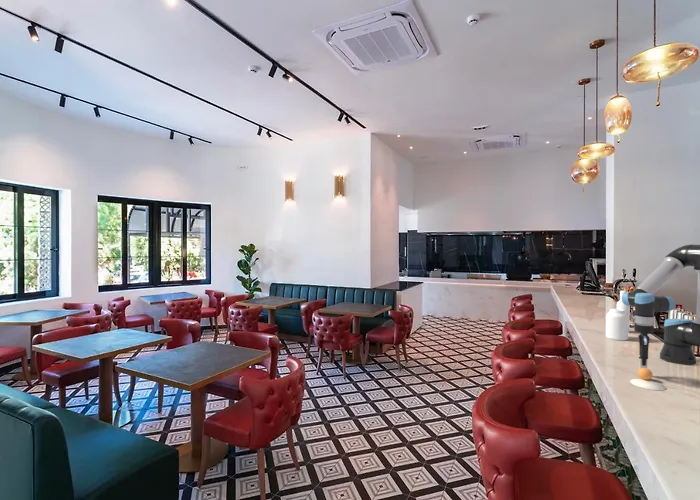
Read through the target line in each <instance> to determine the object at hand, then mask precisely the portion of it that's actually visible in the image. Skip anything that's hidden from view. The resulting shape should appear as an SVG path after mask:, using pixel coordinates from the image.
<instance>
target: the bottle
mask: <svg viewBox="0 0 700 500" xmlns="http://www.w3.org/2000/svg"><path fill="white" fill-rule="evenodd" d="M625 292H627V291H626V290H619V300H618V301H617V302H616V308H615V309H623V310H625V313H626V314H627V315H628V334H629V333H630V330H631V329H630V317H631V316H630V315H631V313H630V310H631V308H630V307H631V306H627V305H625V304H623V302H622V295H623V294H624V293H625Z"/></svg>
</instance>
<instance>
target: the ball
mask: <svg viewBox="0 0 700 500" xmlns="http://www.w3.org/2000/svg"><path fill="white" fill-rule="evenodd" d="M637 375H638V377H639V379H644V380H651V379H652V378H653V375H654V374H653V372H652V371H651V370H650V368H649V369H648V367H647V368H641V369H640V368H639V369H638V371H637Z"/></svg>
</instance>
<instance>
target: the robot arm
mask: <svg viewBox="0 0 700 500" xmlns="http://www.w3.org/2000/svg"><path fill="white" fill-rule="evenodd" d="M687 267H693V270H694V272H696V274H697V285H696V286H697V287H696V314H695V316H696V318H695V319H694V320H693V319H688V318H668V319H667V318H666V319H665V320H664V324H663V346H662V348H661V350H660V352H659V358H660V359H661V360H663V361H666V362H668V363H674V364H678V365H679V364H680V365H688V366H689V365H696V364H697V358H696V355H695V353H694V350H693V347H694V346H695V347H698V348H700V244H686V245H685V244H684V245H682V246H679V247H677V248H675V249H674V250H672V251H670V252H669V253H668V254H666V256H665V257H664V258H663V259H662V262H661V264H659V265H658V266H657V267H656V268H655V269H654V270H653V271H652V272H651V273H650V274H649V275H648V276H647V277H646V278H645V279H644V280H643V281H641V283H639V285H638V286H637V287H635V289H634V290H632V291H626V292H625V293H624V294H623V295H622V302H623V304H625V305H627V306H630V307H632V308H634V316H633V318H632V319H634V323H635V324H634V332H636V333H639V334H638V337H637V338H638V343H639V346H638V347H639V356H638V359H639V369H641V368H647V369H648V360H649V346H650V336H649V335H652V334H654V332H655V326H654V325H655V313H665V312H671V311H673V310H674V309H675V307H676V302H675V299H673V298H672V297H670V296H665V295H662V296H659V295H658V296H657V295H654V294H655V293H656V292H657V291H659V290H660V288H661V287H662V286H663V285H665V283H666V282H667V281H668V280H670V278H672V277H673V276H674V275H675V274H676V273H678V271H679V272H680V271H682V270H683V269H684V268H687Z"/></svg>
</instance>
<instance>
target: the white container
mask: <svg viewBox="0 0 700 500" xmlns="http://www.w3.org/2000/svg"><path fill="white" fill-rule="evenodd" d="M605 337H606V338H607V339H609V340H613V341H614V340H615V341H628V340H629V333H628V315H627V314H626V313H625V310H623V309H616V308H609V311H608V312H606V314H605Z"/></svg>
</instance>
